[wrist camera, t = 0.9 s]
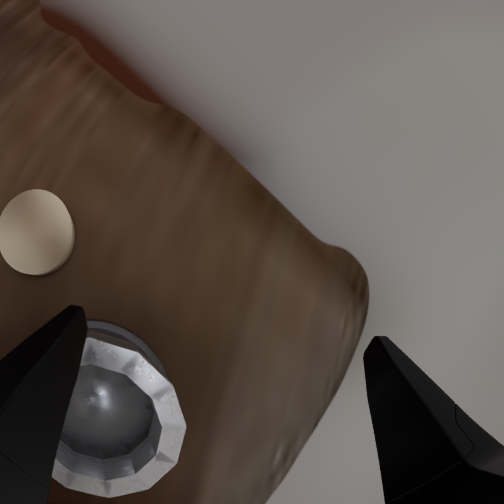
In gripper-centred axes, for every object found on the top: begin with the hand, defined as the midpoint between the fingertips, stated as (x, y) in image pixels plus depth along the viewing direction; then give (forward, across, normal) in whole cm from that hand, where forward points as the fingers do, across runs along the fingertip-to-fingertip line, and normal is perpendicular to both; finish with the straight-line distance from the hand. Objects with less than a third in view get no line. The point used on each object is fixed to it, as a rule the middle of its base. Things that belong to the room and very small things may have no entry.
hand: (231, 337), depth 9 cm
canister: (+6, +9, +16) cm, 19 cm away
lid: (+12, +15, +6) cm, 20 cm away
